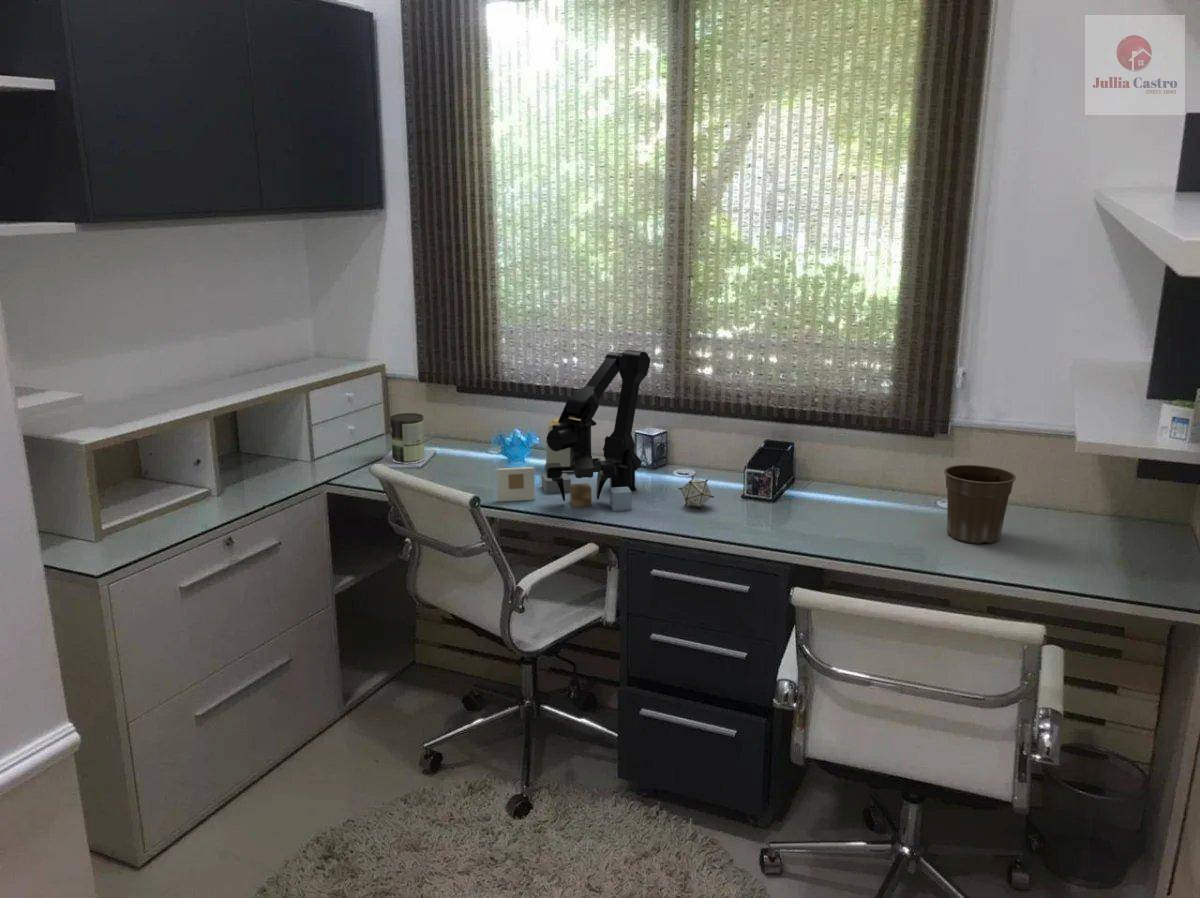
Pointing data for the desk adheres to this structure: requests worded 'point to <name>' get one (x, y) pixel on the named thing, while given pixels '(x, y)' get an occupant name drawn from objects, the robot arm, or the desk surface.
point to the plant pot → (977, 502)
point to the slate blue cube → (620, 498)
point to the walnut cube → (580, 494)
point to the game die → (696, 492)
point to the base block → (555, 484)
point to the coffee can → (407, 437)
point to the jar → (557, 456)
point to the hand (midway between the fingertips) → (580, 499)
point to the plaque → (515, 484)
